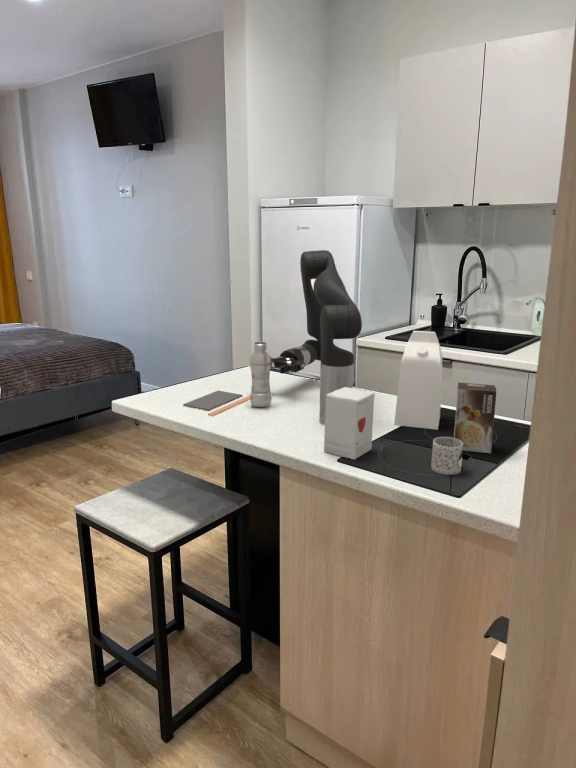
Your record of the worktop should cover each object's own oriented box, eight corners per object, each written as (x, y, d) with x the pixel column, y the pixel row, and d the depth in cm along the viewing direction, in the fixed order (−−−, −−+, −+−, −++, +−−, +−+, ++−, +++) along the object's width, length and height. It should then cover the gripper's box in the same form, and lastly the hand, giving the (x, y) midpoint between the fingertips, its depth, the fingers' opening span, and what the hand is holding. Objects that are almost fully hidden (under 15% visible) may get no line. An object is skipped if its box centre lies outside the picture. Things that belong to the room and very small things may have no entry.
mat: (242, 396, 183) (242, 394, 182) (208, 411, 168) (208, 409, 167) (218, 391, 187) (218, 390, 187) (183, 405, 172) (183, 404, 172)
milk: (440, 416, 164) (447, 329, 157) (437, 429, 153) (445, 336, 146) (398, 412, 167) (404, 327, 160) (394, 424, 157) (399, 334, 150)
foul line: (257, 395, 183) (257, 394, 183) (213, 416, 163) (213, 415, 163) (252, 394, 184) (252, 394, 184) (207, 414, 164) (207, 413, 164)
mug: (464, 475, 125) (467, 447, 123) (435, 475, 125) (437, 447, 123) (451, 457, 134) (453, 431, 133) (424, 457, 134) (426, 431, 133)
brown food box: (489, 445, 142) (496, 384, 138) (491, 454, 136) (498, 391, 132) (452, 441, 145) (458, 381, 141) (452, 449, 139) (457, 388, 135)
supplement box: (354, 460, 132) (357, 400, 128) (323, 452, 137) (324, 394, 133) (372, 449, 139) (375, 392, 135) (342, 441, 144) (344, 385, 140)
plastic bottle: (271, 409, 169) (271, 345, 164) (249, 409, 169) (248, 345, 164) (272, 403, 175) (272, 341, 170) (250, 403, 175) (250, 340, 170)
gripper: (277, 345, 189) (250, 354, 176) (313, 350, 183) (289, 359, 169) (277, 367, 191) (250, 377, 178) (313, 372, 185) (289, 383, 171)
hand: (269, 368), depth 173 cm, fingers open, 8 cm apart
